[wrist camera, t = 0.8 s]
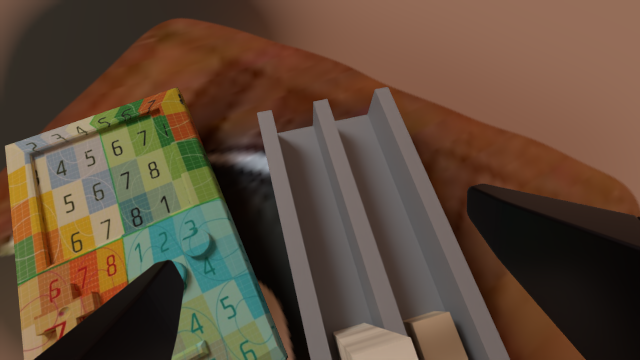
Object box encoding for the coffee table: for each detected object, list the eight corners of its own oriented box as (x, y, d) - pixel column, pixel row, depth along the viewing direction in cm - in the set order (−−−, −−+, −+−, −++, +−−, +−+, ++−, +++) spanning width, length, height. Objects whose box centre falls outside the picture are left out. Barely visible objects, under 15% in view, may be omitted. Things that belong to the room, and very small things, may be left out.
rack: (523, 470, 16) (595, 526, 12) (353, 538, 15) (368, 626, 11) (379, 121, 25) (392, 85, 21) (266, 145, 24) (257, 112, 20)
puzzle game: (22, 517, 12) (-9, 138, 19) (98, 461, 16) (50, 170, 23) (284, 363, 14) (171, 78, 21) (290, 350, 19) (195, 116, 25)
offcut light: (462, 385, 17) (483, 396, 14) (426, 397, 16) (443, 411, 14) (433, 311, 18) (449, 311, 16) (400, 321, 18) (412, 323, 16)
